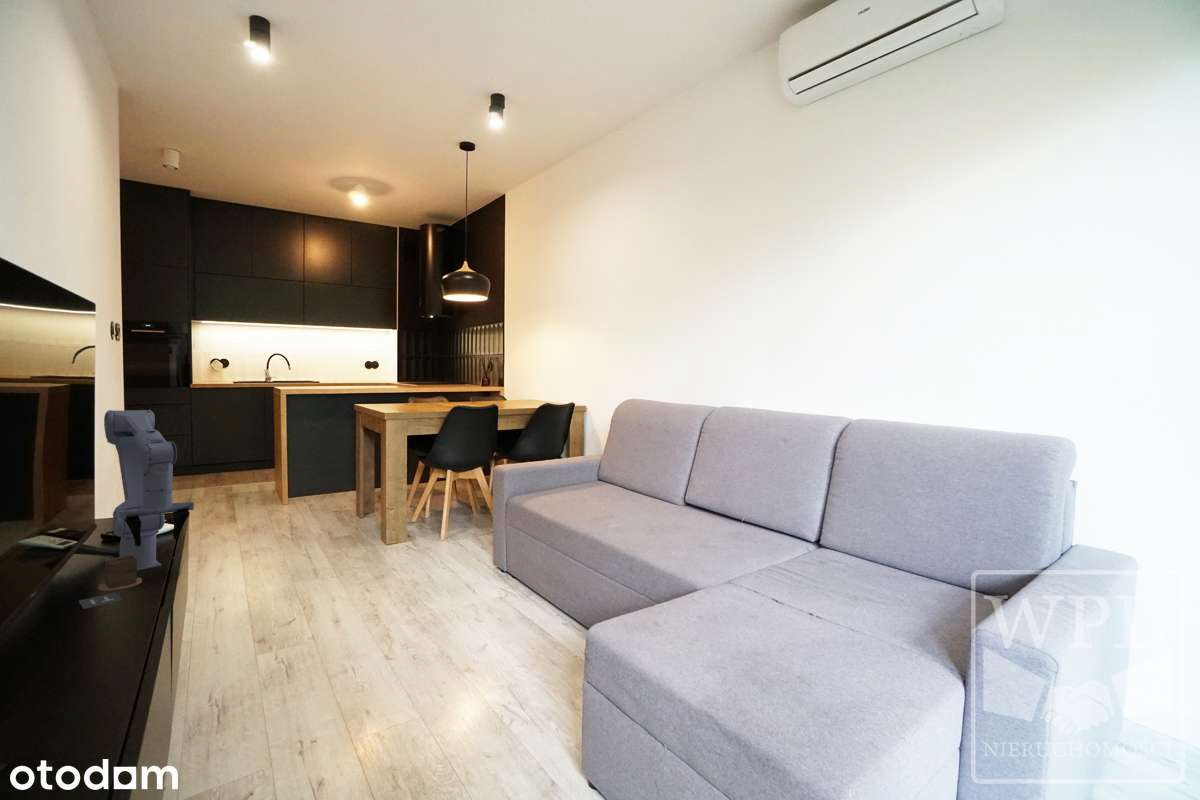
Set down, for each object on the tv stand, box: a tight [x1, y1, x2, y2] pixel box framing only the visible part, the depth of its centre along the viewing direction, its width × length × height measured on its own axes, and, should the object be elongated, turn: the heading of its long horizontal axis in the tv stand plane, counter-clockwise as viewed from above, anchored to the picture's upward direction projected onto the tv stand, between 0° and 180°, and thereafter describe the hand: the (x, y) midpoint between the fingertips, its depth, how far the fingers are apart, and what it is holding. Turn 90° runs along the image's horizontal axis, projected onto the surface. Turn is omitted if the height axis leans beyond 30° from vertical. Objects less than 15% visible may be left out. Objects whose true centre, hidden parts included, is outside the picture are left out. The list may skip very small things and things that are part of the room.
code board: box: [78, 591, 123, 610], centre depth 120 cm, size 8×8×1 cm
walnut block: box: [104, 555, 138, 589], centre depth 129 cm, size 5×5×6 cm
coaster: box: [98, 577, 143, 592], centre depth 129 cm, size 8×8×1 cm
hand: (157, 541), depth 133 cm, fingers open, 7 cm apart
